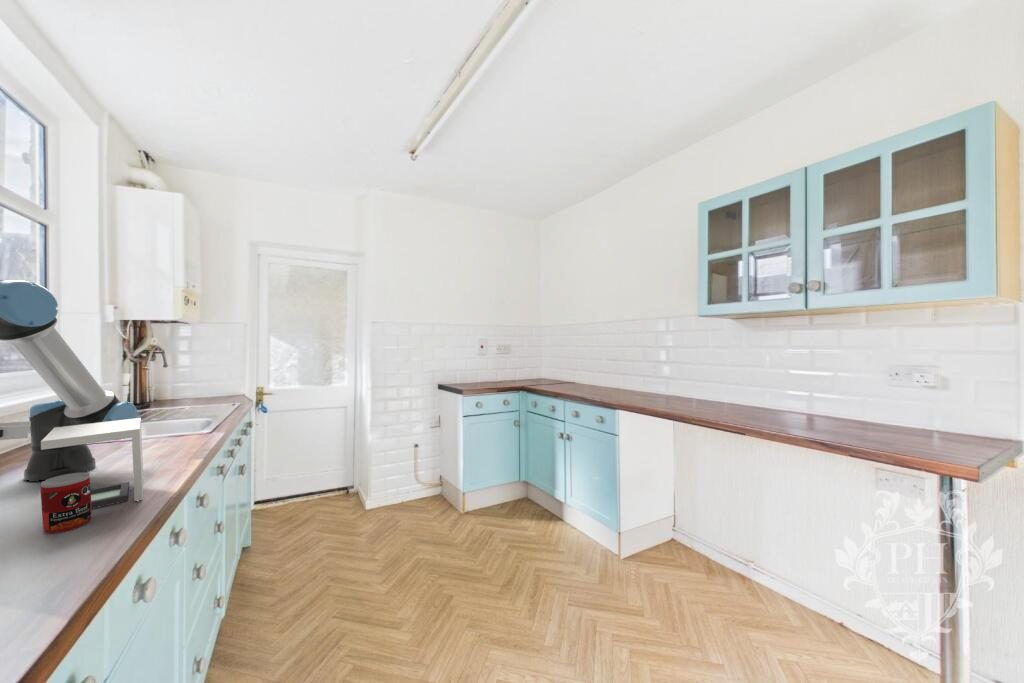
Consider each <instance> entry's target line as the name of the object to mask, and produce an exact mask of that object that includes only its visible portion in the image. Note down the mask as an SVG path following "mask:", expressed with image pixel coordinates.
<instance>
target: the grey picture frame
mask: <svg viewBox="0 0 1024 683" xmlns="http://www.w3.org/2000/svg"><path fill="white" fill-rule="evenodd" d="M128 491H130V481H125V482H119V483H115V484H108V485H103V486H99V487H98V486H97V487H92V488H91V509H94V508H93V507H96V508H99V507H98V506H101V507H103V505H105V506H108V505H107V504H110V505H113V504H112V503H115V504H118V503H117V502H120V503H123V502H122V501H124V502H127V501H128V499H129V492H128ZM127 498H128V499H127ZM126 500H127V501H126Z"/></svg>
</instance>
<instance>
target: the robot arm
mask: <svg viewBox="0 0 1024 683" xmlns="http://www.w3.org/2000/svg"><path fill="white" fill-rule="evenodd" d="M58 307H59V304H58V301H57V298H56V297H55V295H53V293H52V292H51V291H50V290H49V289H47V288H46V287H44V286H42V285H40V284H39V283H36V282H32V281H28V280H19V279H11V278H10V279H9V278H8V279H1V280H0V341H2V342H9V343H11V345H13V347H15V348H16V350H17V351H18V352H19V353H20V355H22V357H23V358H24V359H25V360H26V361H27V362H28V363H29V364H30V366H31V367H32V368H33V369H34V371H36V373H38V376H40V377H41V379H42V380H43V381H44V382H45V383H46V384H47V385H48V387H50V389H51V390H52V391H53V392H54V393H55V395H56V396H57V397H58V398H59V400H52V401H47V402H45V401H44V402H41V403H36V404H33V405H31V407H30V409H29V417H28V421H26V420H25V421H8V422H0V441H5V440H7V441H8V440H9V441H10V440H19V439H20V440H21V439H28V438H29V434H30V443H31V453H30V456H29V459H28V463H27V466H26V468H25V470H23V479H25V480H31V481H30V482H40V481H39V480H47V479H50V478H53V477H56V476H61V475H65V474H71V473H88V472H89V471H92V470H94V469H95V468H96V467H97V464H96V459H95V457H93V453H92V452H91V450H90V448H89V446H88V444H81V445H73V446H66V447H59V448H52V449H44V450H41V441H42V440H43V439H44V438H45V437H46V436H47V435H48V434H49V433H50V432H51V431H52V430H53V429H54V428H56V427H64V426H73V425H82V424H91V423H99V422H108V421H117V420H126V419H134V418H138V408H137V407H136V405H135V404H133V403H132V402H130V401H126V400H125V401H124V400H123V401H120V400H119V399H118V397H117V396H116V394H115V393H114V392H113V391H111V390H107V389H103V388H102V387H101V386H100V384H99V383H98V382H97V380H96V379H95V378H94V377H93V375H92V374H91V373H90V372H89V370H88V369H87V367H86V366H85V365H84V364H83V363H82V362H83V361H81V359H79V357H78V356H77V354H76V353H75V352H74V351H73V350H72V349H71V347H70V346H69V345H68V343H67V342H66V340H65V338H63V337H62V335H61V334H60V332H58V330H57V329H56V328H55V327H56V325H57V324H58V320H59V319H58V318H57V315H58V312H59V310H58V309H57V308H58ZM25 480H24V481H25Z"/></svg>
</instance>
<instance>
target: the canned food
mask: <svg viewBox="0 0 1024 683" xmlns="http://www.w3.org/2000/svg"><path fill="white" fill-rule="evenodd" d="M91 489H92V488H91V475H90V472H84V473H71V474H65V475H61V476H56V477H53V478H50V479H47V480H45V481H41V483H40V498H41V499H40V500H41V515H42V516H41V517H42V518H41V519H42V528H43V529H42V530H43V531H44V533H47V534H57V533H58V534H59V533H64V532H68V531H71V530H75V529H78V528H80V526H81V527H83V526H85V525H87V524H88V523H90V522H91V520H92V517H93V516H92V515H93V514H92V513H93V512H92V508H91Z"/></svg>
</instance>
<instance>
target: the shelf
mask: <svg viewBox="0 0 1024 683" xmlns="http://www.w3.org/2000/svg"><path fill="white" fill-rule="evenodd" d="M124 439H131V445H132V446H131V447H132V450H131V451H132V471H133V472H132V473H133V493H134V494H133V496H134V502H135V501H137V500H142V499H143V497H144V496H143V495H144V467H143V466H144V465H143V464H144V461H143V438H142V418H141V417H137V418H134V419H126V420H117V421H108V422H99V423H91V424H82V425H73V426H64V427H56V428H54V429H53V430H52V431H51V432H50V433H49V434H48V435H47V436H46V437H45V438H44V439H43V440H42V441H41V450H44V449H52V448H59V447H66V446H73V445H81V444H87V445H88V444H96V443H102V442H110V441H116V440H124ZM142 501H143V500H142Z"/></svg>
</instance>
